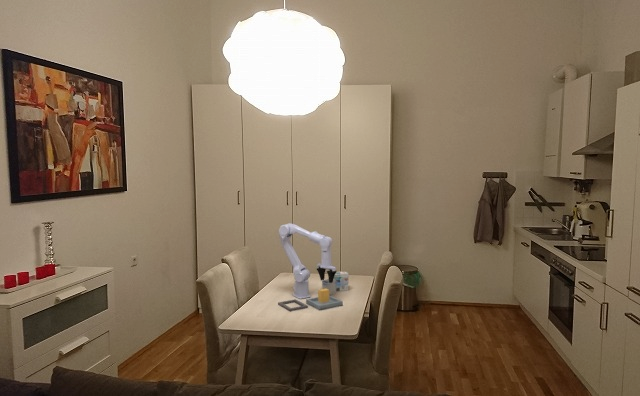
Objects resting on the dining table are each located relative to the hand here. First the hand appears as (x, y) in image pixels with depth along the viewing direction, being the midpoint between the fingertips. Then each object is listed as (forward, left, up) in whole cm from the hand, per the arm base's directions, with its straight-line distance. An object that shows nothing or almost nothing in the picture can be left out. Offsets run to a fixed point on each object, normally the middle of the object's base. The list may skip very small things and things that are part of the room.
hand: (326, 281), depth 257 cm
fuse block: (+8, -7, -10) cm, 14 cm away
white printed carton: (-12, +17, -11) cm, 23 cm away
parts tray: (+8, -7, -10) cm, 15 cm away
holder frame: (+1, -23, -10) cm, 25 cm away
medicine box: (-8, +7, -11) cm, 15 cm away
